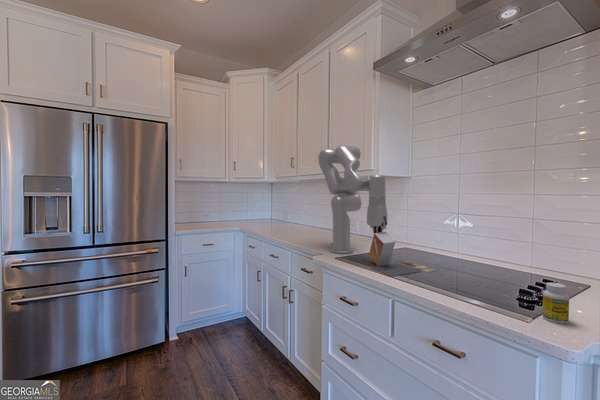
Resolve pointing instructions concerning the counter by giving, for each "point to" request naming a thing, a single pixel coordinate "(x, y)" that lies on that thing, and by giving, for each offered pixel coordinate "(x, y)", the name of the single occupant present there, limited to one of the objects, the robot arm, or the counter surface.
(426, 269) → the turner
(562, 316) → the supplement bottle
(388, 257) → the small box
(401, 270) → the mat
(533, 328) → the counter surface
